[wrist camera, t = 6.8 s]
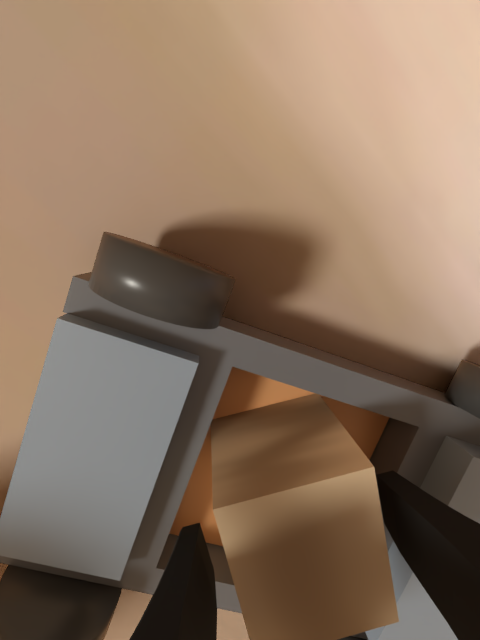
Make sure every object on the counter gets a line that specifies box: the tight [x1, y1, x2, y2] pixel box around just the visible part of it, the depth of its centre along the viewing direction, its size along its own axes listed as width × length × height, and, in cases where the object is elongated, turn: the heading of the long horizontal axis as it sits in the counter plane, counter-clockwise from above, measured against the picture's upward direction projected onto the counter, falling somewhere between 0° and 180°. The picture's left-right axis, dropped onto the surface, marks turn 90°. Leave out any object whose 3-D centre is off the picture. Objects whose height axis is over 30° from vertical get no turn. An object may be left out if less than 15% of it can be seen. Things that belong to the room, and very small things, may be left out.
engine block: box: [211, 393, 399, 640], centre depth 13 cm, size 4×6×5 cm
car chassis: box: [0, 232, 480, 640], centre depth 13 cm, size 19×14×4 cm
